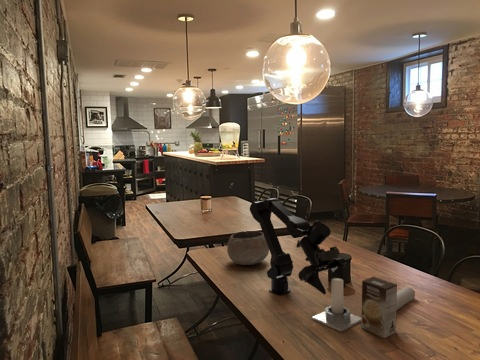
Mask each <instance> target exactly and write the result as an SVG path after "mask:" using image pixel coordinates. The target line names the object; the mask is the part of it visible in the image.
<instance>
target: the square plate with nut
mask: <svg viewBox="0 0 480 360" xmlns="http://www.w3.org/2000/svg"><path fill="white" fill-rule="evenodd" d="M361 317H362V316H357V315H356V314H352V313H351V311H350V308H348V307H345V306H343V315H337V314H333V313H331V305H329V306H327V307H325V308H324V311H322V312H320V313H318V314H316V315H313V316H311V319H312V320H313V321H315V322H318V323H319V324H322V325H324V326H326V327H329V328H331V329H333V330H335V331H338V332H340V333H342V332H344V331H346V330H348V329H349V328H352V327H353V326H356V325H357V324H359V323H361Z"/></svg>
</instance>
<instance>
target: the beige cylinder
mask: <svg viewBox="0 0 480 360" xmlns="http://www.w3.org/2000/svg"><path fill="white" fill-rule="evenodd" d="M330 282H331V283H330V291H331V292H330V296H331V297H330V299H331V301H330V306H331V313H333V314H337V315H343V307H344V288H343V280H342V279H339V278H334V277H333V278H331V279H330Z"/></svg>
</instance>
